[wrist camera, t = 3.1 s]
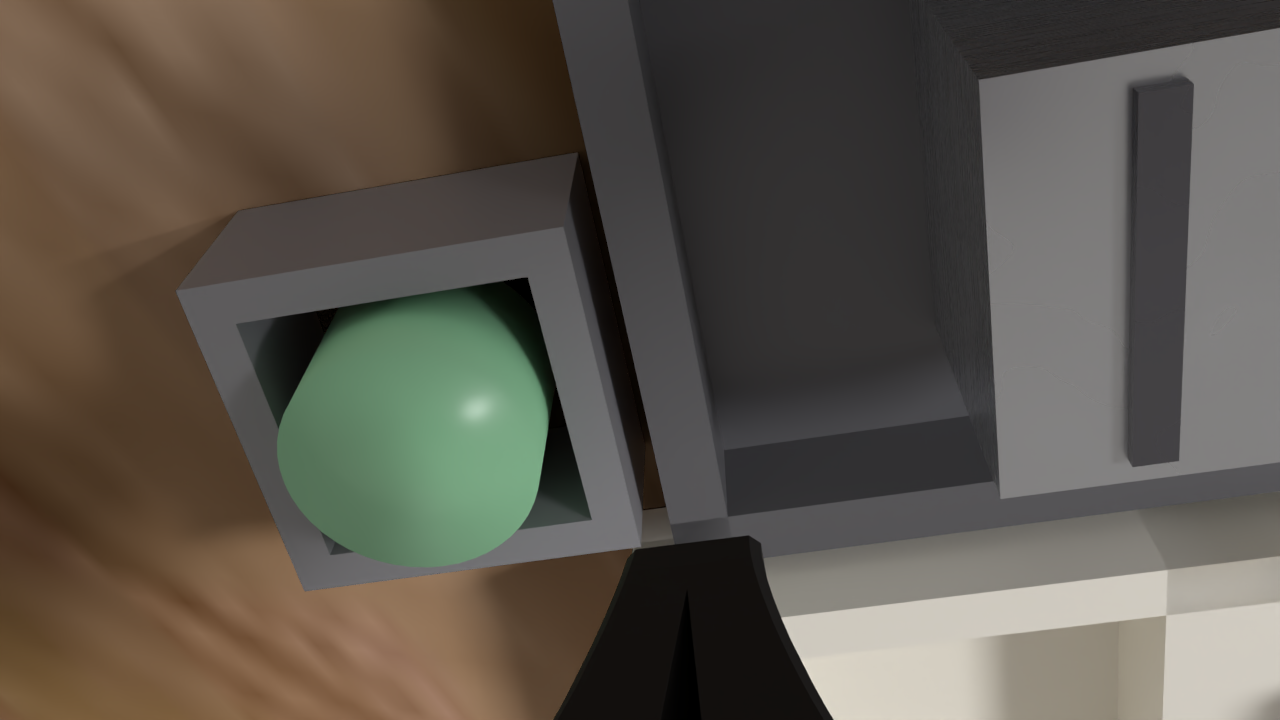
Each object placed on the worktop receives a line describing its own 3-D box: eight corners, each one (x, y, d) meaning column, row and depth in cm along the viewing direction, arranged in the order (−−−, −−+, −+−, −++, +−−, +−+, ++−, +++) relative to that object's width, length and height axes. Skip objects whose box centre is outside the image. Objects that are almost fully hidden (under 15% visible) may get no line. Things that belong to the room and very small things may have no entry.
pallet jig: (1801, 353, 21) (1985, 469, 18) (1681, 712, 26) (1813, 853, 23) (634, 511, 24) (627, 636, 21) (707, 814, 28) (711, 953, 25)
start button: (526, 243, 20) (503, 333, 17) (579, 442, 22) (565, 549, 19) (294, 281, 20) (238, 373, 18) (366, 473, 22) (325, 581, 20)
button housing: (578, 152, 20) (563, 226, 18) (645, 446, 23) (641, 547, 20) (237, 211, 21) (175, 290, 18) (345, 488, 24) (305, 591, 21)
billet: (1184, -74, 18) (1357, 21, 13) (1173, 288, 21) (1311, 467, 16) (907, -24, 18) (982, 85, 14) (934, 324, 21) (1004, 507, 17)
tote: (1573, -390, 16) (1712, -394, 14) (1445, 379, 22) (1528, 459, 20) (538, -175, 18) (519, -150, 15) (680, 484, 24) (680, 568, 21)
